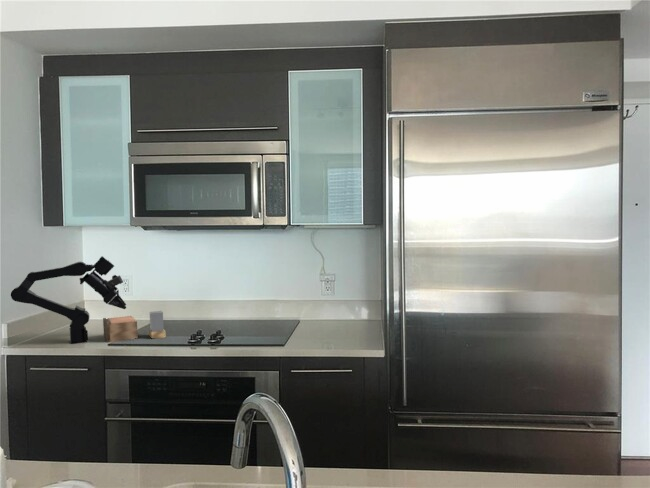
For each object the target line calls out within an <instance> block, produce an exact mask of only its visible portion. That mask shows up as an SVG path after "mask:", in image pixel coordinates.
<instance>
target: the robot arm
mask: <svg viewBox="0 0 650 488" xmlns="http://www.w3.org/2000/svg"><path fill="white" fill-rule="evenodd" d="M114 267H115V265H114V264H113V263H112V262H111V261H110V260H109V259H107V258H105V257H104V256H103V255H102V256H100V258H99V259H98V260H97V261H96V262H95V263H94V264H88V263H87V264H86V263H85V262H83V261H77V262H74V263H70V264H68V265H66V266H62V267H55V268H50V269H45V270H39V271H30V272H29V273H28V274H27V275H26V277H25V278H24V279H23V280H22V282H21V283H20V285H18V286H16V287H15V288H13V290H12V291H11V293H10V297H11V300H13V301H14V302H17V303H23V304H30V305H33V306H38V307H39V308H43V309H45V310H48V311H50V312H53V313H56V314H58V315H61V316H63V317H65V318H67V319H68V320H70V321H71V322H70V323H69V343H70V344H71V345H74V344H81V343H82V344H84V343H88V340H89V336H88V334H89V332H88V330H87V327H86V326H85V325H87V324H88V323H89V320H90V317H91V316H90V313H89V312H88V310H86V308H85V307H84V308H82V307H80V306H79V305H77V304H76V305H75V307H69V306H67V305H64V304H62V303H58V302H56V301H53V300H51V299H48V298H46V297H43V296H40V295H38V294H37V293H35V292H34V291H32V290H30V288H31V287H32V286H33V285H34V283H35V282H37V281H43V280H49V279H55V278H59V277H60V278H61V277H79V284H80V285H83V284H84V283H86V284H87V285H88V286H89V287H90V288H92V289H93V290H94V291H95V293H98V294H99V295H100V296H101V298H103V302H104V303H105V304H107V305H109V306H112V307H116V308H120V309H123V310H126V309H127V304H126V302H125V301H124V300H123V298H122V297H121V296H120V294H119V293H120V291H119V288H118V287H117V286H118V285H121V284H123V283H124V280H123V279H122V276H121V275H116V274H113V275H112V277H111V279H110V280H107V279H104V278H102V276H106V275H108V273H110V272H111V270H112V269H113V268H114ZM81 276H83V277H81Z"/></svg>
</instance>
